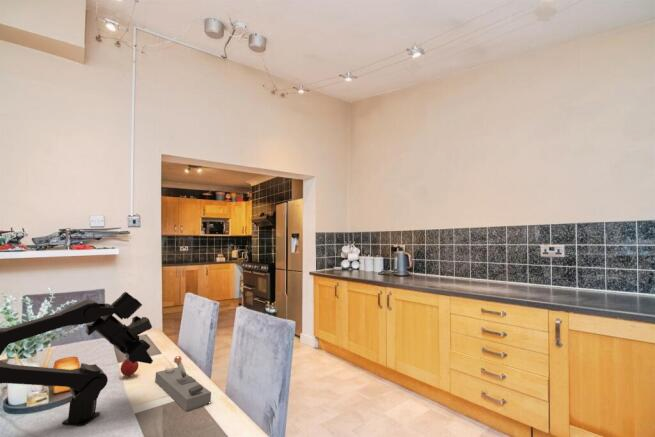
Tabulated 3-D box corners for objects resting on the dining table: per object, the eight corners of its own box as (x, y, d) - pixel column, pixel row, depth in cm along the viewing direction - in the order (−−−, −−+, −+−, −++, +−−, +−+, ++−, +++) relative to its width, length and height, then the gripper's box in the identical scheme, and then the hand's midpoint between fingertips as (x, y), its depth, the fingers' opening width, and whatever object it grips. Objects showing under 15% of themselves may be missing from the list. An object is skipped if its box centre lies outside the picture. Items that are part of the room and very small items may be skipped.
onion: (128, 380, 121) (131, 358, 122) (115, 378, 122) (118, 356, 123) (140, 375, 127) (142, 353, 127) (128, 373, 128) (130, 352, 129)
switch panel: (185, 411, 102) (186, 398, 102) (155, 381, 121) (156, 371, 122) (210, 403, 107) (211, 391, 108) (177, 376, 127) (177, 366, 127)
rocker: (191, 394, 105) (191, 391, 104) (188, 392, 106) (188, 389, 106) (202, 389, 107) (202, 386, 107) (199, 387, 109) (199, 384, 109)
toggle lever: (182, 379, 114) (174, 359, 112) (179, 377, 115) (171, 358, 114) (189, 374, 115) (181, 355, 114) (186, 372, 117) (178, 353, 115)
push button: (166, 373, 121) (167, 368, 121) (164, 371, 123) (164, 366, 123) (175, 371, 123) (175, 366, 123) (172, 369, 125) (172, 364, 125)
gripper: (145, 315, 99) (179, 346, 106) (128, 305, 112) (159, 333, 119) (112, 347, 92) (151, 377, 99) (97, 332, 105) (132, 360, 112)
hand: (149, 360), depth 108 cm, fingers open, 5 cm apart
